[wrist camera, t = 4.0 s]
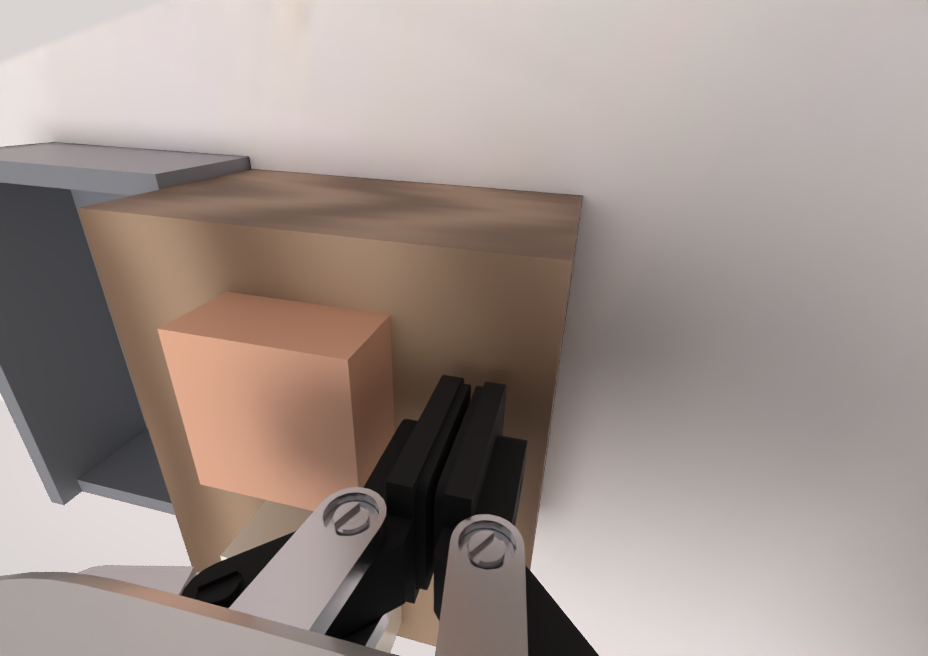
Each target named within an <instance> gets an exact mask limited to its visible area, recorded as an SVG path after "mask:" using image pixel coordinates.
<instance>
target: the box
mask: <svg viewBox="0 0 928 656" xmlns="http://www.w3.org/2000/svg"><path fill="white" fill-rule="evenodd" d="M250 169H251V168H250V162H249V157H244V156H231V155H218V154H204V153H191V152H177V151H164V150H151V149H137V148H124V147H110V146H97V145H84V144H70V143H57V142H49V143H39V144H28V145H17V146H6V147H0V393H1V395H2V397H3V399H4V401H5V403H6V405H7V407H8V410H9V412H10V414H11V416H12V418H13V420H14V423H15V424H16V427H17V429H18V431H19V433H20V435H21V437H22V440H23V442H24V444H25V446H26V448H27V450H28V452H29V455H30V457H31V459H32V461H33V463H34V465H35V467H36V469H37V472H38V474H39V476H40V478H41V480H42V482H43V484H44V487H45V489H46V491H47V493H48V495H49V497H50V499H51V501H52V502H54V503H58V504H62V505H65V504H66V503H67V502H69V501H70V500H71V499H73V498H74V497H75V496H76V495H78V494H79V493H80V492H82V491H83V492H87V493H91V494H95V495H99V496H103V497H107V498H111V499H115V500H119V501H123V502H127V503H130V504H134V505H138V506H142V507H146V508H150V509H154V510H158V511H162V512H166V513H170V514H174V515H175V512H174V509H173V505H172V502H171V499H170V496H169V493H168V490H167V487H166V483H165V480H164V477H163V474H162V471H161V468H160V465H159V462H158V458H157V455H156V452H155V449H154V446H153V443H152V440H151V437H150V433H149V430H148V427H147V424H146V421H145V418H144V415H143V411H142V408H141V405H140V402H139V399H138V396H137V393H136V390H135V386H134V383H133V380H132V377H131V374H130V371H129V368H128V365H127V361H126V358H125V355H124V352H123V349H122V346H121V343H120V339H119V336H118V333H117V330H116V327H115V324H114V321H113V318H112V314H111V311H110V308H109V305H108V302H107V299H106V296H105V293H104V289H103V286H102V283H101V280H100V277H99V274H98V271H97V267H96V264H95V261H94V258H93V255H92V252H91V249H90V246H89V242H88V239H87V236H86V233H85V230H84V227H83V224H82V221H81V217H80V214H79V211H78V208H79V207H83V206H88V205H92V204H97V203H101V202H106V201H110V200H115V199H119V198H124V197H128V196H133V195H137V194H142V193H146V192H151V191H155V190H160V189H164V188H169V187H173V186H178V185H182V184H187V183H191V182H196V181H200V180H205V179H209V178H214V177H218V176H223V175H227V174H232V173H236V172H241V171H245V170H250Z"/></svg>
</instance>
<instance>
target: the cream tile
mask: <svg viewBox="0 0 928 656" xmlns="http://www.w3.org/2000/svg"><path fill="white" fill-rule="evenodd" d="M313 512H314V511H311V510H307V509H302V508H298V507H294V506H290V505H286V504H281V503H277V502H273V501H269V500H265V502H264V503H263V504H262V505H261V507H260V508H259V509H258V510H257V511H256V513H255V514H254V515H253V516H252V518H251V519H250V520H249V521H248V522H247V524H246V525H245V526H244V527H243V529H242V530H241V531H240V532H239V533H238V535H237V536H236V537H235V538H234V540H233V541H232V542H231V543H230V545H229V546H228V547H227V548H226V549H225V551H224V552H223V553H222V554H221V556H220V557H221V561H222V560H225V559H227V558H230V557H232V556H235V555H237V554H240V553H242V552H245V551H247V550H250V549H252V548H255V547H257V546H260V545H262V544H265V543H267V542H270V541H272V540H275V539H277V538H280V537H282V536H284V535H287V534H289V533H292V532H294V531H297V530H298V529H299V528H300V526H301V525H302V524H303V523H304V522H305V521H306V520H307V518H308V517H309V516H310V515H311V514H312V513H313ZM401 622H402V612H401V606H400V607H398V608H396V609H394V610H392V611H391V617H390V620H389V623H388V625H387V627H386V629H385V631H384V632H383V634H382V636H381V638H380V640H379V642H378V643H377V645H376V647H375V649H377V650H380V651H384V652H387V653H390V651H391V649H392V646H393V644H394V641H395V638H396V636H397V633H398V630H399V628H400V625H401Z"/></svg>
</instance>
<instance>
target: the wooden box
mask: <svg viewBox="0 0 928 656" xmlns="http://www.w3.org/2000/svg"><path fill="white" fill-rule="evenodd" d="M582 198H583V196H580V195H568V194H555V193H543V192H530V191H518V190H505V189H493V188H480V187H468V186H456V185H443V184H431V183H418V182H406V181H393V180H381V179H368V178H356V177H344V176H331V175H319V174H306V173H294V172H281V171H269V170H257V169H250V170H245V171H241V172H236V173H232V174H227V175H223V176H218V177H214V178H209V179H205V180H200V181H196V182H191V183H187V184H182V185H178V186H173V187H169V188H164V189H160V190H155V191H151V192H146V193H142V194H137V195H133V196H128V197H124V198H119V199H115V200H110V201H106V202H101V203H97V204H92V205H88V206H83V207H79V208H78V211H79V214H80V217H81V221H82V224H83V227H84V230H85V233H86V236H87V239H88V242H89V246H90V249H91V252H92V255H93V258H94V261H95V264H96V267H97V271H98V274H99V277H100V280H101V283H102V286H103V289H104V293H105V296H106V299H107V302H108V305H109V308H110V311H111V314H112V318H113V321H114V324H115V327H116V330H117V333H118V336H119V339H120V343H121V346H122V349H123V352H124V355H125V358H126V361H127V365H128V368H129V371H130V374H131V377H132V380H133V383H134V386H135V390H136V393H137V396H138V399H139V402H140V405H141V408H142V411H143V415H144V418H145V421H146V424H147V427H148V430H149V433H150V437H151V440H152V443H153V446H154V449H155V452H156V455H157V458H158V462H159V465H160V468H161V471H162V474H163V477H164V480H165V483H166V487H167V490H168V493H169V496H170V499H171V502H172V505H173V509H174V512H175V515H176V518H177V521H178V524H179V527H180V530H181V533H182V537H183V540H184V543H185V546H186V549H187V552H188V555H189V559H190V561H191V565H192V567H194V568H195V571H196V572H201V571H202V570H204V569H206V568H208V567H209V566H211V565H213V564H215V563H217V562H220V561H221V557H220V556H221V554H222V553H223V552H224V551H225V549H226V548H227V547H228V546H229V545H230V543H231V542H232V541H233V540H234V538H235V537H236V536H237V535H238V533H239V532H240V531H241V530H242V529H243V527H244V526H245V525H246V524H247V522H248V521H249V520H250V519H251V518H252V516H253V515H254V514H255V513H256V511H257V510H258V509H259V508H260V507H261V505H262V504H263V503H264V502H265V500H264V499H260V498H256V497H252V496H248V495H243V494H239V493H235V492H231V491H226V490H222V489H218V488H214V487H210V486H205V485H201V484H200V481H199V478H198V474H197V471H196V467H195V463H194V460H193V456H192V453H191V449H190V445H189V442H188V438H187V434H186V431H185V427H184V424H183V420H182V416H181V413H180V409H179V406H178V402H177V398H176V395H175V391H174V388H173V384H172V380H171V377H170V373H169V370H168V366H167V362H166V359H165V355H164V352H163V348H162V344H161V341H160V337H159V333H158V330H157V329H158V328H160V327H161V326H163V325H165V324H167V323H169V322H171V321H173V320H174V319H176V318H178V317H180V316H182V315H184V314H186V313H188V312H189V311H191V310H193V309H195V308H197V307H199V306H201V305H202V304H204V303H206V302H208V301H210V300H212V299H214V298H216V297H217V296H219V295H221V294H223V293H225V292H233V293H240V294H247V295H254V296H261V297H268V298H276V299H283V300H290V301H297V302H304V303H311V304H318V305H325V306H332V307H340V308H347V309H354V310H361V311H368V312H375V313H382V314H389V315H390V320H391V346H392V373H393V399H394V426H395V432H396V430H397V428H398V426H399V425H400V423H401V422H402V420H403V419H411V420H416V421H418V420H419V418H420V416H421V414H422V412H423V410H424V409H425V407H426V405H427V403H428V401H429V399H430V397H431V395H432V393H433V391H434V390H435V388H436V386H437V384H438V382H439V380H440V378H441V376H442V375H448V376H455V377H461V378H464V384H470V385H471V398H472V395H473V393H474V390H475V388H476V386H482V387H483V386H484V383H485V382H493V383H499V384H505V385H506V386H507V389H506V401H505V412H504V423H503V435H502V436H506V437H511V438H517V439H523V440H528V445H527V454H526V462H525V470H524V477H523V484H522V490H521V497H520V502H519V508H518V514H517V519H516V525H515V527H516V528H517V529H518V531H519V532H520V534H521V536H522V537H523V542H524V547H525V565H526V566H527V567H528V569H529V570H530V567H531V560H532V553H533V546H534V540H535V533H536V526H537V519H538V512H539V505H540V498H541V491H542V484H543V476H544V469H545V462H546V455H547V448H548V441H549V434H550V426H551V419H552V412H553V405H554V398H555V391H556V384H557V377H558V369H559V362H560V355H561V348H562V341H563V334H564V327H565V319H566V312H567V305H568V298H569V291H570V284H571V277H572V269H573V262H574V255H575V248H576V241H577V234H578V227H579V219H580V212H581V205H582ZM401 612H402V622H401V625H400V628H399V630H398V633H397V636H400V637H404V638H408V639H411V640H415V641H418V642H422V643H426V644H429V645H432V646H436V645H437V637H438V630H439V620H438V618H437V616H436V614H435V613H434V573H433V576H432V579H431V582H430V585H429V588H428V590H423V589H420V590H419V593H418V595H417V598H416V601H415V604H413V603H409V602H405V604H403V605H401Z"/></svg>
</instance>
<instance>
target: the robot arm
mask: <svg viewBox="0 0 928 656" xmlns="http://www.w3.org/2000/svg"><path fill="white" fill-rule="evenodd" d="M506 389H507V386H506V385H505V384H499V383H493V382H485V383H484V386H483V387H482V386H476V388H475V390H474V393H473V395H472V398H471V385H470V384H464V378H461V377H455V376H448V375H442V376H441V378H440V380H439V382H438V384H437V386H436V388H435V390H434V391H433V393H432V395H431V397H430V399H429V401H428V403H427V405H426V407H425V409H424V410H423V412H422V414H421V416H420V418H419V420H418V421H416V420H411V419H403V420H402V422H401V423H400V425H399V426H398V428H397V430H396V432H395V433H394V435H393V437H392V439H391V440H390V442H389V444H388V446H387V447H386V449H385V451H384V452H383V454H382V456H381V458H380V459H379V461H378V463H377V465H376V466H375V468H374V470H373V472H372V473H371V475H370V477H369V478H368V480H367V482H366V484H365V485H364V487H363V488H362V487H352V488H346V489H343V490H339V491H337V492H335V493H333V494H331V495H329V496H328V497H327V498H326V499H325V500H324V501H323V502H322V503H321V504H320V505H319V506H318V507H317V508H316V509H315V511H314V512H313V513H312V514H311V515H310V516H309V517H308V518H307V520H306V521H305V522H304V523H303V524H302V525H301V526H300V528H299V529H298V530H297V531H294V532H292V533H289V534H287V535H284V536H282V537H280V538H277V539H275V540H272V541H270V542H267V543H265V544H262V545H260V546H257V547H255V548H252V549H250V550H247V551H245V552H242V553H240V554H237V555H235V556H232V557H230V558H227V559H225V560H222V561H220V562H217V563H215V564H213V565H211V566H209V567H208V568H206V569H204V570H202V571H201V572H196V571H195V568H194V567H184V566H183V567H182V566H113V565H111V566H110V565H105V566H97V567H92V568H89V569H86V570H84V571H81V572H79V573H68V572H30V573H21V574H14V575H6V576H0V656H398V655H395V654H391V653H387V652H384V651H380V650H377V649H375V647H376V645H377V643H378V642H379V640H380V638H381V636H382V634H383V632H384V631H385V629H386V627H387V625H388V623H389V620H390V617H391V611H392V610H394V609H396V608H398V607H400V606H401V605H403V604H405V602H409V603H413V604H415V601H416V598H417V595H418V593H419V590H420V589H423V590H428V588H429V585H430V582H431V579H432V576H433V573H434V613H435V614H436V616H437V618H438V620H439V630H438V637H437V645H436V652H435V656H599V655H598V654H597V653H596V651H595V650H594V649H593V648H592V646H591V645H590V644H589V643H588V641H587V640H586V639H585V638H584V637H583V635H582V634H581V633H580V632H579V630H578V629H577V628H576V627H575V625H574V624H573V623H572V622H571V620H570V619H569V618H568V617H567V616H566V614H565V613H564V612H563V611H562V609H561V608H560V607H559V606H558V604H557V603H556V602H555V601H554V599H553V598H552V597H551V596H550V595H549V593H548V592H547V591H546V590H545V588H544V587H543V586H542V585H541V583H540V582H539V581H538V580H537V578H536V577H535V576H534V575H533V574H532V572H531V571H530V570H529V569H528V567H527V566H526V565H525V547H524V542H523V537H522V536H521V534H520V532H519V531H518V529H517V528H516V527H515V525H516V519H517V514H518V508H519V502H520V497H521V490H522V484H523V477H524V470H525V462H526V454H527V445H528V440H523V439H517V438H511V437H506V436H502V435H503V423H504V412H505V401H506Z"/></svg>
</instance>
